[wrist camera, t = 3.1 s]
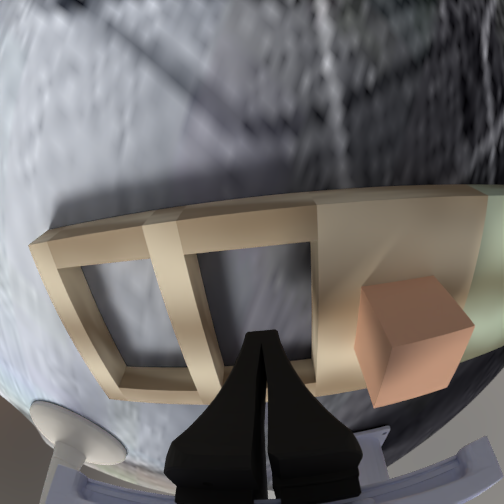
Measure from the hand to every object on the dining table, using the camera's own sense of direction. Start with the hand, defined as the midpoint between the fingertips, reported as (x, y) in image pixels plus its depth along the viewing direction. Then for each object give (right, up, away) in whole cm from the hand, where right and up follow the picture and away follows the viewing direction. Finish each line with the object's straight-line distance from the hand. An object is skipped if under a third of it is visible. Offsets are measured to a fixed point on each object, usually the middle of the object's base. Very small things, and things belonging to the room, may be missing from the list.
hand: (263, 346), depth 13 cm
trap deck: (+4, +2, +2) cm, 5 cm away
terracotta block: (+7, +1, 0) cm, 7 cm away
